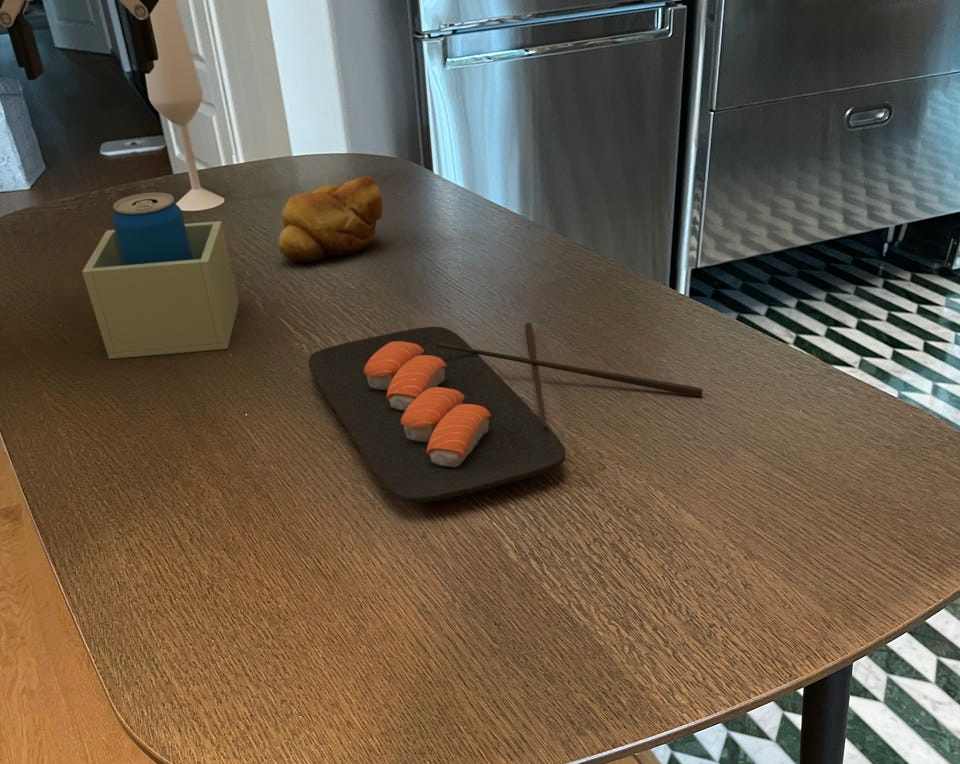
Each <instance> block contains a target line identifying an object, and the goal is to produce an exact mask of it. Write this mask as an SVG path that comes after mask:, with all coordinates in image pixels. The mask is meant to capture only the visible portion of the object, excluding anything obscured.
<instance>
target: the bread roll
mask: <svg viewBox="0 0 960 764" xmlns="http://www.w3.org/2000/svg"><path fill="white" fill-rule="evenodd" d="M383 203H384V202H383V198H382V193H381V189H380V187H379V185H378V183H377V181H376V179H375V178H373V177H372V176H362V177H358V178H355V179H354V178H353V179H350V180H348V181H346V182H344V183H343V184H342V185H341V186H340V185H338V184H329V185H325V186H319V187H317V188H316V189H315V190H314V191H313V192H306V193H299V194H296V195H293V196H291V197H290V198H289V199H288V201H287V202H286V204H285V205H284V208H283V210H282V213H281V216H282V219H281V220H282V224H283V230H282V231H281V233H280V234H279V236H278V241H277V242H278V243H277V244H278V249H279V252H280V253H281V254H282V256H283V257H284V258H286V259H287V260H289V261H292V262H305V263H306V262H315V261H319V260H322V259H324V258H326V257H327V256H329V255H331V256H343V255H344V256H345V255H352V254H354V253H357V252H359V251H361V250H364V249H366V248H368V246H370V245H372V242H373V240H374V239H375V235H376V226H377V221H379V220H380V219H381V218H382V216H383V206H384V205H383Z"/></svg>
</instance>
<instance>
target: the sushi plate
mask: <svg viewBox="0 0 960 764" xmlns="http://www.w3.org/2000/svg"><path fill="white" fill-rule="evenodd" d="M524 327H525V330H524V331H525V334H526V335H525V336H526V341H527V346H528V352H529V356H530V358H528V357H527V358H526V357H522V356H516V355H510V354H505V353H499V352H493V351H487V350H481V349H476V348H472V346H470V345H469V343H467V342H466V341H465V340H464V339H463V338H462V337H461V336H460V335H458V333H456V332H454V331H453V330H451V329H449V328H446V327H442V326H423V327H417V328H411V329H405V330H401V331H396V332H395V331H394V332H390V333H386V334H381V335H377V336H372V337H367V338H363V339H358V340H353V341H349V342H345V343H340V344H336V345H333V346H332V345H331V346H329V347H325V348H322V349H320V350H317V351H315V352H314V353H312V354H311V355H310V356H309V358H308V368H309V371H310V373H311V375H312V377H313V379H314V380H315V382H316V384H317V385H318V387H319V388H320V390H321V391H322V393H323V395H324V396H325V398H326V399H327V401H328V402H329V404H330V406H331V408H332V409H333V410H334V412H335V414H336V415H337V417H338V418H339V420H340V421H341V423H342V425H343V427H345V429H346V431H347V433H348V434H349V436H350V438H351V439H352V440H353V442H354V443H355V445H356V446H357V448H358V450H359V451H360V453H361V455H362V456H363V458H364V459H365V461H366V462H367V464H368V465H369V467H370V469H371V470H372V472H373V473H374V475H375V476H376V478H377V479H378V480H379V482H380V483H381V485H382V486H383V487H384V488H385V489H386V490H387V491H388V493H389V494H390V495H392V497H394V498H396V499H398V500H400V501H402V502H405V503H412V504H417V503H419V504H421V503H430V502H436V501H442V500H446V499H451V498H455V497H459V496H463V495H468V494H472V493H476V492H481V491H483V490H484V491H485V490H487V489H491V488H495V487H499V486H502V485H507V484H511V483H514V482H518V481H521V480H525V479H528V478H531V477H535V476H538V475H541V474H544V473H547V472H549V471H552V470H554V469H556V468H557V467H559V466H560V465H562V464H563V463H564V462H565V461H566V457H567V453H566V449H565V446H564V444H563V442H562V441H561V439H559V437H558V436H557V435H556V434H555V432H554V431H553V430H552V429H551V428H550V427H549V426H548V425H547V419H546V413H545V407H544V400H543V394H542V388H541V387H542V386H541V380H540V374H539V368H538V367H544V368H549V369H554V370H560V371H563V372H569V373H575V374H579V375H585V376H589V377H594V378H599V379H603V380H610V381H614V382H619V383H623V384H628V385H629V384H630V385H634V386H639V387H643V388H644V387H645V388H650V389H653V390H654V389H655V390H659V391H664V392H665V391H666V392H670V393H675V394H680V395H686V396H691V395H692V397H696V396H701V395H703V391H704V389H703V388H701V387H696V386H691V385H687V384H681V383H674V382H669V381H663V380H657V379H651V378H645V377H640V376H634V375H628V374H622V373H616V372H609V371H604V370H597V369H592V368H586V367H584V368H583V367H580V366H574V365H569V364H562V363H556V362H549V361H544V360H538V359H537V352H536V346H535V339H534V333H533V327H532V323H530V322H528V323H525V324H524ZM481 356H485V357H490V358H491V357H492V358H496V359H502V360H507V361H511V362H517V363H523V364H528V365H531V369H532V373H533V379H534V385H535V391H536V397H537V403H538V409H539V415H540V417H539V415H537V413H536V412H534V410H532V408H531V407H530V406H529V405H528V404H527V403H526V402H525V401H524V400H523V399H522V398H521V397H520V396H519V395H518V393H516V392H515V390H513V388H512V387H511V386H510V385H508V383H507V382H506V381H504V380H503V379H502V377H501V376H500V375H499V374H498V373H497V372H496V371H495V370H494V369H493V368H492V367H491V366H490V365H489V364H488V363H487V361H485V360H484V359H483V358H482V357H481ZM701 397H702V396H701Z"/></svg>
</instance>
